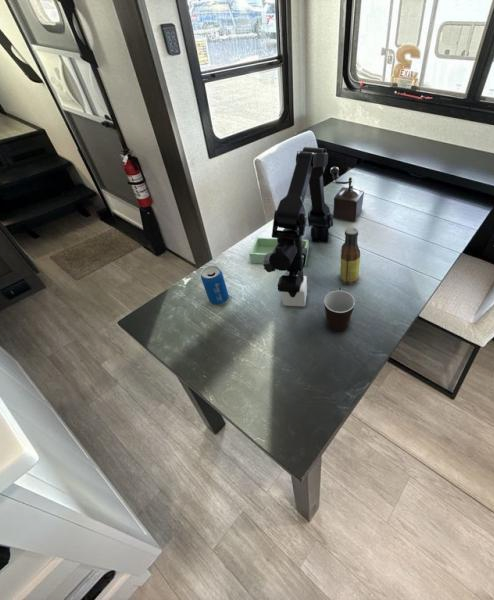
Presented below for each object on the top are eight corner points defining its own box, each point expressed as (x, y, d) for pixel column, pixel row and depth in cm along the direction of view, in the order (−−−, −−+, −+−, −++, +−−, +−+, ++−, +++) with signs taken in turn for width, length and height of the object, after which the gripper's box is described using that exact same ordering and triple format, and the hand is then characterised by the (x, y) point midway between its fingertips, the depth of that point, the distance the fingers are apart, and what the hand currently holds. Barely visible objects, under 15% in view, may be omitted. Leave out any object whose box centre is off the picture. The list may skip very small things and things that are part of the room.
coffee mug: (343, 339, 90) (346, 317, 83) (318, 327, 94) (318, 305, 87) (360, 313, 97) (364, 290, 90) (336, 303, 100) (337, 280, 93)
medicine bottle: (307, 290, 105) (306, 263, 96) (305, 307, 100) (304, 280, 91) (286, 289, 105) (283, 262, 96) (283, 305, 100) (279, 278, 92)
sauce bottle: (360, 276, 109) (366, 227, 95) (354, 287, 105) (360, 238, 91) (342, 271, 111) (346, 223, 97) (336, 282, 107) (339, 233, 93)
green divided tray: (257, 245, 123) (256, 236, 120) (308, 248, 121) (308, 239, 118) (251, 262, 116) (249, 253, 113) (305, 266, 114) (305, 257, 111)
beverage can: (212, 309, 100) (202, 281, 92) (207, 296, 104) (197, 269, 96) (231, 302, 102) (224, 274, 94) (225, 290, 106) (217, 262, 98)
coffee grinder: (363, 209, 140) (367, 169, 127) (355, 222, 133) (359, 181, 120) (330, 203, 145) (332, 164, 132) (321, 215, 138) (322, 175, 125)
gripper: (270, 228, 95) (275, 268, 107) (256, 267, 83) (263, 307, 94) (306, 230, 94) (307, 270, 105) (298, 270, 81) (300, 310, 92)
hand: (294, 288), depth 99 cm, fingers closed on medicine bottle, 7 cm apart
